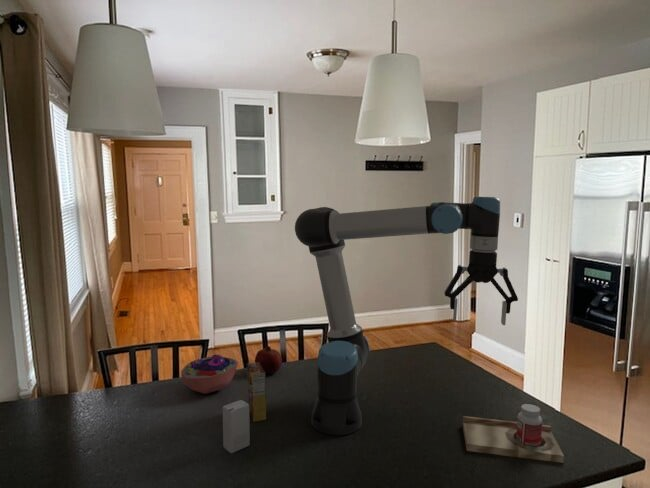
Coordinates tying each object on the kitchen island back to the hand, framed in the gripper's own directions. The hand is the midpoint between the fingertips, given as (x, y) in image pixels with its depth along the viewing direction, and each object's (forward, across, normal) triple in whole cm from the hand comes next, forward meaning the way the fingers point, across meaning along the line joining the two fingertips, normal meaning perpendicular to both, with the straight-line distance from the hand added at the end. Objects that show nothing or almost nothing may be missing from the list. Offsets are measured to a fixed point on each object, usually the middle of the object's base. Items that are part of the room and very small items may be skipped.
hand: (478, 322), depth 133 cm
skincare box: (+32, -64, -29) cm, 77 cm away
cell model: (+32, -87, +2) cm, 93 cm away
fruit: (+32, -72, +20) cm, 81 cm away
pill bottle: (+31, +14, -10) cm, 36 cm away
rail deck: (+31, +9, -10) cm, 34 cm away
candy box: (+32, -65, -11) cm, 73 cm away
